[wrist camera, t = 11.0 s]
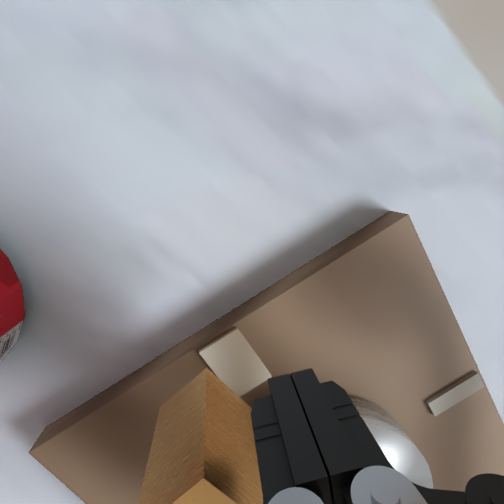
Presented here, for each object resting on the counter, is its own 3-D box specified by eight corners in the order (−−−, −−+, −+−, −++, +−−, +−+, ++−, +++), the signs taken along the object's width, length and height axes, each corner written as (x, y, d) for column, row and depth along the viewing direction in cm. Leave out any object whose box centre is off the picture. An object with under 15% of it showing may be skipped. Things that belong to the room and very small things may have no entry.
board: (254, 622, 21) (257, 660, 19) (46, 426, 15) (26, 456, 14) (510, 467, 20) (536, 493, 19) (389, 210, 15) (411, 215, 13)
